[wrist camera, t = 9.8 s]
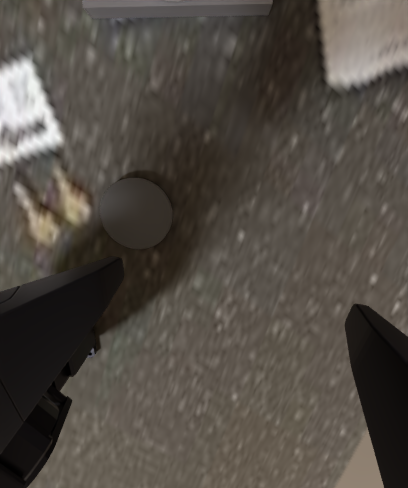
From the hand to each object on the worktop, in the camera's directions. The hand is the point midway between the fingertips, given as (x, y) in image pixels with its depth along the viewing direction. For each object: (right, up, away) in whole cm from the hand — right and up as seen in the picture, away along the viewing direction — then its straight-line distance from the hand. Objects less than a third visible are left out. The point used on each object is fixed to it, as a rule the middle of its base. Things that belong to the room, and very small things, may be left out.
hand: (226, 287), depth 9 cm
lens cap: (-7, +4, +11) cm, 14 cm away
